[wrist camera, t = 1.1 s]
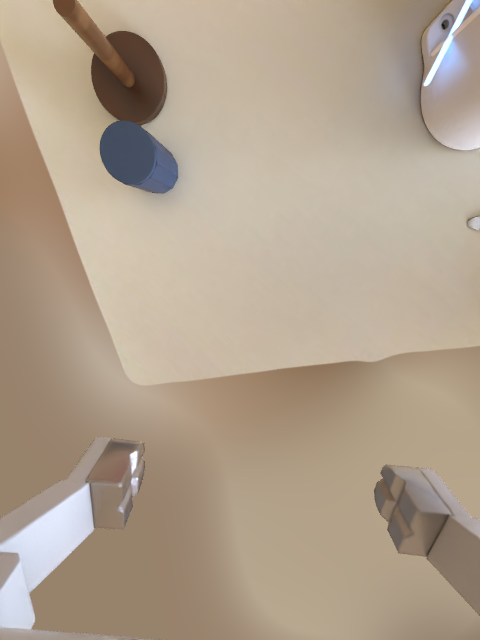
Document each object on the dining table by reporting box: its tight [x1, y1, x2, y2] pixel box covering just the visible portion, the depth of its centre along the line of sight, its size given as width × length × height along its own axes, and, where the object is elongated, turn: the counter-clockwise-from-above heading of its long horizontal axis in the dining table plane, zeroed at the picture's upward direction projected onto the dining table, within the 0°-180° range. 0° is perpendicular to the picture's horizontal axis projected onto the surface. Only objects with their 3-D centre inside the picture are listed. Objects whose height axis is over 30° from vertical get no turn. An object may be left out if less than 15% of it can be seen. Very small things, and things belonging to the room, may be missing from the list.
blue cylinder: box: [100, 121, 178, 193], centre depth 33 cm, size 6×6×10 cm
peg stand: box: [53, 0, 167, 125], centre depth 28 cm, size 9×9×14 cm
